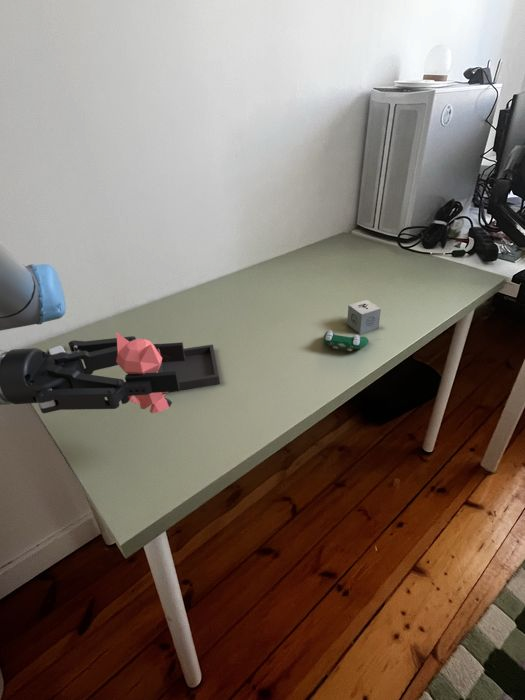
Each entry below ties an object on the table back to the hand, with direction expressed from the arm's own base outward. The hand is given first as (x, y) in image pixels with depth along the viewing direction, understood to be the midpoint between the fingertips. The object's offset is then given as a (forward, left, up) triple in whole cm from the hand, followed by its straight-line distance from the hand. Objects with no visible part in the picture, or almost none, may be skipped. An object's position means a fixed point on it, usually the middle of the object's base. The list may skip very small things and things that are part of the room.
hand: (180, 365), depth 59 cm
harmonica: (-26, +31, -17) cm, 44 cm away
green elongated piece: (+33, +23, -17) cm, 43 cm away
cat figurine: (-5, +1, -7) cm, 8 cm away
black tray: (0, +23, -17) cm, 28 cm away
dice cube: (+40, +30, -17) cm, 53 cm away
